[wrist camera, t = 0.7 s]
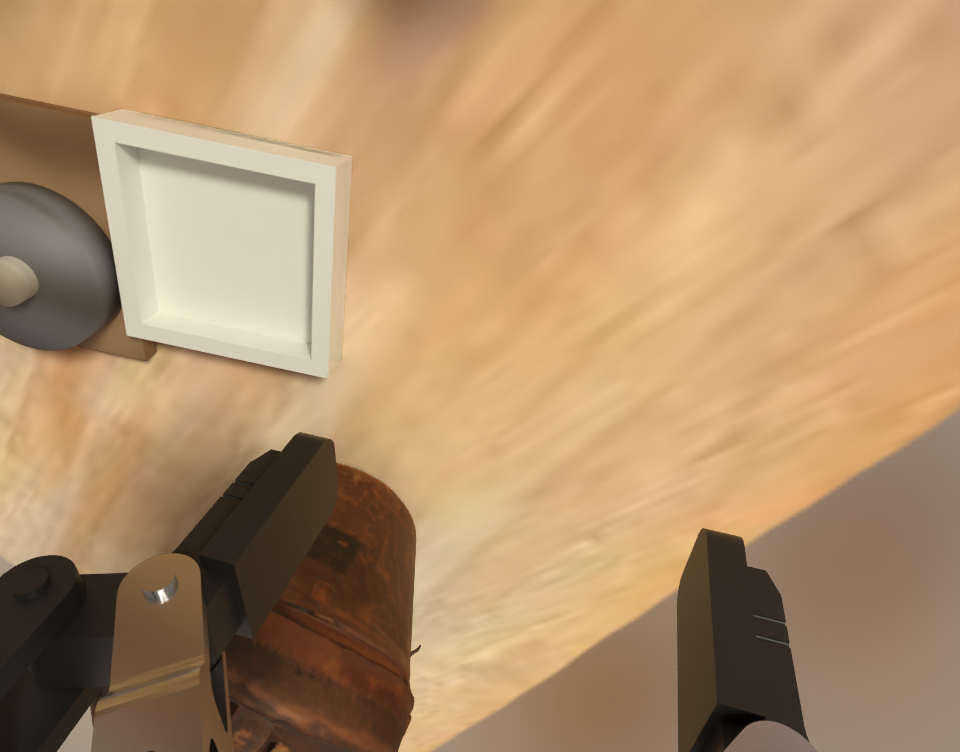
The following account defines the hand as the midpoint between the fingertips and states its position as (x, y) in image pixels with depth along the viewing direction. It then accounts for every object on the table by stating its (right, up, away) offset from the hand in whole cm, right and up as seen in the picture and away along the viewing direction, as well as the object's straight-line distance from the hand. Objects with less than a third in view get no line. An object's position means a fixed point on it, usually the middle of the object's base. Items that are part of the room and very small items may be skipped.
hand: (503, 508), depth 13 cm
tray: (-14, +10, +21) cm, 27 cm away
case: (-11, -8, +32) cm, 35 cm away
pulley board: (-25, +11, +22) cm, 35 cm away
